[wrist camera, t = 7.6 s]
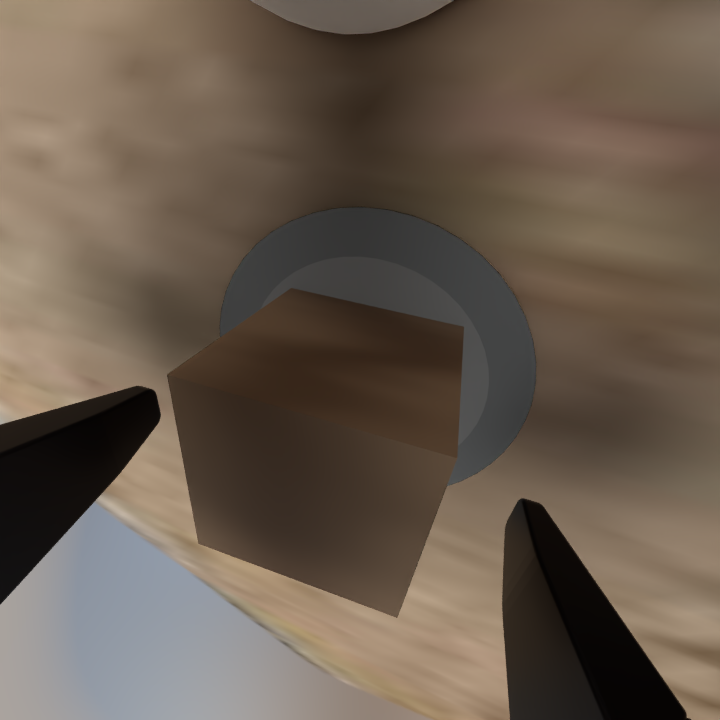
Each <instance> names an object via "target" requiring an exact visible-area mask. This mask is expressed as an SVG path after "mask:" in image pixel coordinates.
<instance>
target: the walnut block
mask: <svg viewBox="0 0 720 720" xmlns="http://www.w3.org/2000/svg"><path fill="white" fill-rule="evenodd" d="M463 338H464V327H463V326H458V325H454V324H449V323H445V322H440V321H436V320H431V319H427V318H423V317H418V316H414V315H409V314H405V313H400V312H396V311H392V310H387V309H383V308H378V307H374V306H369V305H365V304H361V303H356V302H352V301H347V300H343V299H338V298H334V297H330V296H325V295H321V294H316V293H312V292H307V291H303V290H298V289H294V288H290V289H289V290H287V291H286V292H285V293H283V294H282V295H280V296H279V297H277V298H276V299H275V300H273V301H272V302H270V303H269V304H267V305H266V306H265V307H263V308H262V309H260V310H259V311H257V312H256V313H255V314H253V315H252V316H250V317H249V318H247V319H246V320H245V321H243V322H242V323H240V324H239V325H237V326H236V327H235V328H233V329H232V330H230V331H229V332H227V333H226V334H225V335H223V336H222V337H220V338H219V339H217V340H216V341H215V342H213V343H212V344H210V345H209V346H207V347H206V348H205V349H203V350H202V351H200V352H199V353H197V354H196V355H195V356H193V357H192V358H190V359H189V360H187V361H186V362H185V363H183V364H182V365H180V366H179V367H177V368H176V369H175V370H173V371H172V372H170V373H169V374H167V377H168V382H169V388H170V393H171V398H172V404H173V409H174V415H175V420H176V425H177V431H178V436H179V441H180V447H181V452H182V458H183V463H184V468H185V474H186V479H187V484H188V490H189V495H190V501H191V506H192V511H193V517H194V522H195V527H196V533H197V538H198V544H201V545H204V546H206V547H209V548H212V549H214V550H217V551H220V552H222V553H225V554H228V555H230V556H233V557H236V558H238V559H241V560H244V561H247V562H249V563H252V564H255V565H257V566H260V567H263V568H265V569H268V570H271V571H273V572H276V573H279V574H281V575H284V576H287V577H289V578H292V579H295V580H297V581H300V582H303V583H305V584H308V585H311V586H313V587H316V588H319V589H322V590H324V591H327V592H330V593H332V594H335V595H338V596H340V597H343V598H346V599H348V600H351V601H354V602H356V603H359V604H362V605H364V606H367V607H370V608H372V609H375V610H378V611H380V612H383V613H386V614H389V615H391V616H394V617H398V614H399V612H400V609H401V606H402V604H403V601H404V599H405V596H406V593H407V591H408V588H409V585H410V583H411V580H412V577H413V575H414V572H415V569H416V567H417V564H418V561H419V559H420V556H421V553H422V551H423V548H424V545H425V543H426V540H427V537H428V535H429V532H430V530H431V527H432V524H433V522H434V519H435V516H436V514H437V511H438V508H439V506H440V503H441V500H442V498H443V495H444V492H445V490H446V487H447V484H448V482H449V479H450V476H451V474H452V471H453V468H454V466H455V463H456V461H457V455H458V436H459V416H460V397H461V377H462V358H463Z"/></svg>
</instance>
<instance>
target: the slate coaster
mask: <svg viewBox="0 0 720 720" xmlns="http://www.w3.org/2000/svg"><path fill="white" fill-rule="evenodd" d="M290 288H294V289H298V290H303V291H307V292H312V293H316V294H321V295H325V296H330V297H334V298H338V299H343V300H347V301H352V302H356V303H361V304H365V305H369V306H374V307H378V308H383V309H387V310H392V311H396V312H400V313H405V314H409V315H414V316H418V317H423V318H427V319H431V320H436V321H440V322H445V323H449V324H454V325H458V326H463V327H464V338H463V358H462V377H461V397H460V416H459V436H458V455H457V461H456V463H455V466H454V468H453V471H452V474H451V476H450V479H449V482H448V484H447V486H449V485H452V484H454V483H457V482H460V481H462V480H464V479H466V478H468V477H470V476H472V475H474V474H476V473H478V472H479V471H481V470H482V469H484V468H485V467H487V466H488V465H489V464H491V463H492V462H493V461H494V460H495V459H497V458H498V457H499V456H500V455H501V454H502V453H503V452H504V451H505V450H506V449H507V447H508V446H509V445H510V444H511V442H512V441H513V440H514V439H515V437H516V436H517V434H518V432H519V431H520V429H521V427H522V425H523V424H524V422H525V420H526V417H527V414H528V412H529V409H530V406H531V404H532V399H533V394H534V389H535V384H536V359H535V352H534V345H533V339H532V336H531V333H530V330H529V327H528V324H527V320H526V317H525V315H524V313H523V311H522V309H521V307H520V305H519V303H518V301H517V299H516V297H515V295H514V294H513V292H512V291H511V290H510V288H509V287H508V285H507V284H506V282H505V281H504V280H503V278H502V277H501V275H500V274H499V273H498V272H497V271H496V270H495V269H494V268H493V267H492V266H491V265H490V264H489V263H488V262H487V261H486V259H485V258H484V257H483V256H482V255H480V254H479V253H478V252H477V251H475V250H474V249H473V248H471V247H470V246H469V245H468V244H466V243H465V242H464V241H462V240H461V239H460V238H458V237H456V236H454V235H453V234H451V233H449V232H447V231H446V230H444V229H442V228H440V227H439V226H437V225H434V224H432V223H429V222H427V221H424V220H422V219H419V218H417V217H414V216H411V215H407V214H403V213H399V212H395V211H391V210H387V209H377V208H367V207H351V208H335V209H330V210H325V211H320V212H315V213H312V214H309V215H306V216H304V217H301V218H298V219H295V220H293V221H290V222H289V223H287V224H285V225H283V226H281V227H280V228H278V229H276V230H274V231H273V232H271V233H270V234H269V235H268V236H266V237H265V238H264V239H263V240H261V241H260V242H259V243H258V244H256V245H255V247H254V248H253V249H252V250H251V251H250V252H249V253H248V254H247V255H246V257H245V258H244V259H243V260H242V262H241V263H240V265H239V267H238V268H237V270H236V271H235V273H234V274H233V277H232V279H231V281H230V283H229V286H228V288H227V290H226V294H225V297H224V301H223V305H222V310H221V319H220V337H222V336H223V335H225V334H226V333H227V332H229V331H230V330H232V329H233V328H235V327H236V326H237V325H239V324H240V323H242V322H243V321H245V320H246V319H247V318H249V317H250V316H252V315H253V314H255V313H256V312H257V311H259V310H260V309H262V308H263V307H265V306H266V305H267V304H269V303H270V302H272V301H273V300H275V299H276V298H277V297H279V296H280V295H282V294H283V293H285V292H286V291H287V290H289V289H290Z"/></svg>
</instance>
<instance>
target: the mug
mask: <svg viewBox="0 0 720 720" xmlns="http://www.w3.org/2000/svg"><path fill="white" fill-rule="evenodd" d="M250 1H252V2H253V3H255V4H257V5H259V6H261V7H263V8H265V9H267V10H268V11H270V12H272V13H274V14H276V15H278V16H280V17H282V18H283V19H285V20H287V21H290V22H293V23H296V24H299V25H302V26H305V27H308V28H311V29H314V30H319V31H325V32H332V33H339V34H366V33H375V32H379V31H384V30H388V29H393V28H397V27H400V26H403V25H406V24H408V23H411V22H413V21H416V20H418V19H421V18H423V17H426V16H428V15H429V14H431V13H433V12H435V11H436V10H438V9H440V8H442V7H443V6H445V5H447V4H448V3H450V2H452V1H454V0H250Z"/></svg>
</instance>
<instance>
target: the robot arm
mask: <svg viewBox="0 0 720 720" xmlns="http://www.w3.org/2000/svg"><path fill="white" fill-rule="evenodd" d="M160 417H161V413H160V408H159V404H158V399H157V395H156V392H155V391H154V390H152V389H149V388H146V387H142V386H135V387H131V388H128V389H124V390H121V391H117V392H114V393H110V394H107V395H103V396H100V397H96V398H93V399H89V400H86V401H82V402H79V403H75V404H72V405H68V406H65V407H61V408H58V409H54V410H50V411H47V412H43V413H40V414H36V415H33V416H29V417H26V418H22V419H19V420H15V421H12V422H8V423H5V424H1V425H0V604H1V603H2V602H3V601H4V600H5V599H6V598H7V597H8V596H9V595H10V593H11V592H12V591H13V590H14V589H15V588H16V587H17V586H18V585H19V584H20V583H21V581H22V580H23V579H24V578H25V577H26V576H27V575H28V574H29V573H30V572H31V571H32V569H33V568H34V567H35V566H36V565H37V564H38V563H39V561H41V559H42V558H43V557H44V556H45V555H46V554H47V553H48V552H49V551H50V550H51V549H52V547H53V546H54V545H55V544H56V543H57V542H58V541H59V540H60V539H61V538H62V536H63V535H64V534H65V533H66V532H67V531H68V530H69V529H70V528H71V527H72V526H73V525H74V523H75V522H76V521H77V520H78V519H79V518H80V517H81V516H82V515H83V514H84V512H85V511H86V510H87V509H88V508H89V507H90V506H91V505H92V504H93V503H94V502H95V500H96V499H97V498H98V497H99V496H100V495H101V494H102V493H103V492H104V491H105V489H106V488H107V487H108V486H109V485H110V484H111V483H112V482H113V481H114V480H115V478H116V477H117V476H118V475H119V474H120V473H121V471H122V470H123V469H124V468H125V466H126V465H127V464H128V462H129V461H130V460H131V459H132V457H133V456H134V455H135V453H136V452H137V451H138V449H139V448H140V447H141V445H142V444H143V443H144V441H145V440H146V439H147V437H148V436H149V435H150V434H151V432H152V431H153V430H154V428H155V427H156V426H157V424H158V423H159V421H160ZM502 611H503V628H504V641H505V655H506V669H507V683H508V697H509V711H510V720H691V719H689V718H686V717H687V714H686V711H685V710H684V708H683V707H682V706H681V704H680V703H679V701H678V700H677V698H676V697H675V695H674V694H673V693H672V691H671V690H670V688H669V687H668V685H667V684H666V682H665V681H664V680H663V678H662V677H661V675H660V674H659V672H658V671H657V669H656V668H655V667H654V665H653V664H652V662H651V661H650V659H649V658H648V657H647V655H646V654H645V652H644V651H643V649H642V648H641V646H640V645H639V644H638V642H637V641H636V639H635V638H634V636H633V635H632V633H631V632H630V631H629V629H628V628H627V626H626V625H625V623H624V622H623V620H622V619H621V618H620V616H619V615H618V613H617V612H616V610H615V609H614V607H613V606H612V605H611V603H610V602H609V600H608V599H607V597H606V596H605V594H604V593H603V592H602V590H601V589H600V587H599V586H598V584H597V583H596V582H595V580H594V579H593V577H592V576H591V574H590V573H589V571H588V570H587V569H586V567H585V566H584V564H583V563H582V561H581V560H580V558H579V557H578V556H577V554H576V553H575V551H574V550H573V548H572V547H571V545H570V544H569V543H568V541H567V540H566V538H565V537H564V535H563V534H562V532H561V531H560V530H559V528H558V527H557V525H556V524H555V522H554V521H553V520H552V518H551V517H550V515H549V514H548V512H547V511H546V509H545V508H544V507H543V506H542V505H541V504H540V503H537V502H534V501H531V500H527V499H520V500H519V501H518V502H517V504H516V506H515V507H514V509H513V511H512V513H511V515H510V517H509V519H508V520H507V523H506V527H505V539H504V566H503V592H502Z"/></svg>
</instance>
